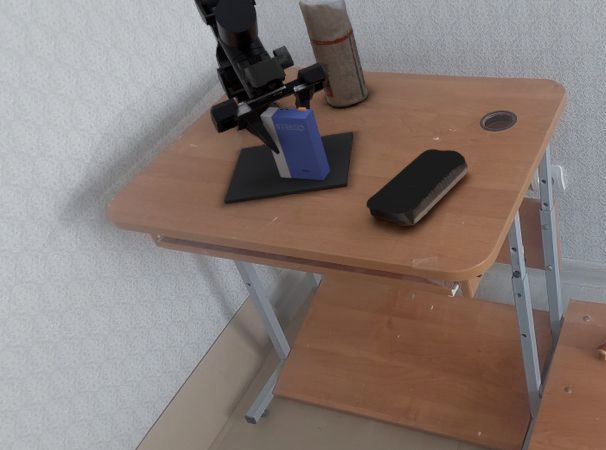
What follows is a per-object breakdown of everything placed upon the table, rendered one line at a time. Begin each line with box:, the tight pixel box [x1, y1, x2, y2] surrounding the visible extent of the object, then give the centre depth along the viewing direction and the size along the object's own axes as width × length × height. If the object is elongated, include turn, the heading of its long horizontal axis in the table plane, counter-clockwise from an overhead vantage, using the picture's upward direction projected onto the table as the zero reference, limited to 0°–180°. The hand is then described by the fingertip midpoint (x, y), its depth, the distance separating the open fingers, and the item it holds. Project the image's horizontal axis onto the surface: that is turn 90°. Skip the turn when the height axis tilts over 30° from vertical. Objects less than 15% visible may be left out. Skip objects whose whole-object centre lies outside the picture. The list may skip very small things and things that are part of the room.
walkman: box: [260, 107, 330, 180], centre depth 111 cm, size 8×3×12 cm, turn 73°
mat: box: [223, 131, 354, 205], centre depth 118 cm, size 15×20×1 cm
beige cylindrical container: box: [298, 0, 369, 108], centre depth 127 cm, size 8×8×20 cm
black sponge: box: [366, 148, 468, 226], centre depth 105 cm, size 16×8×4 cm, turn 144°
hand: (296, 145), depth 109 cm, fingers closed on walkman, 6 cm apart
